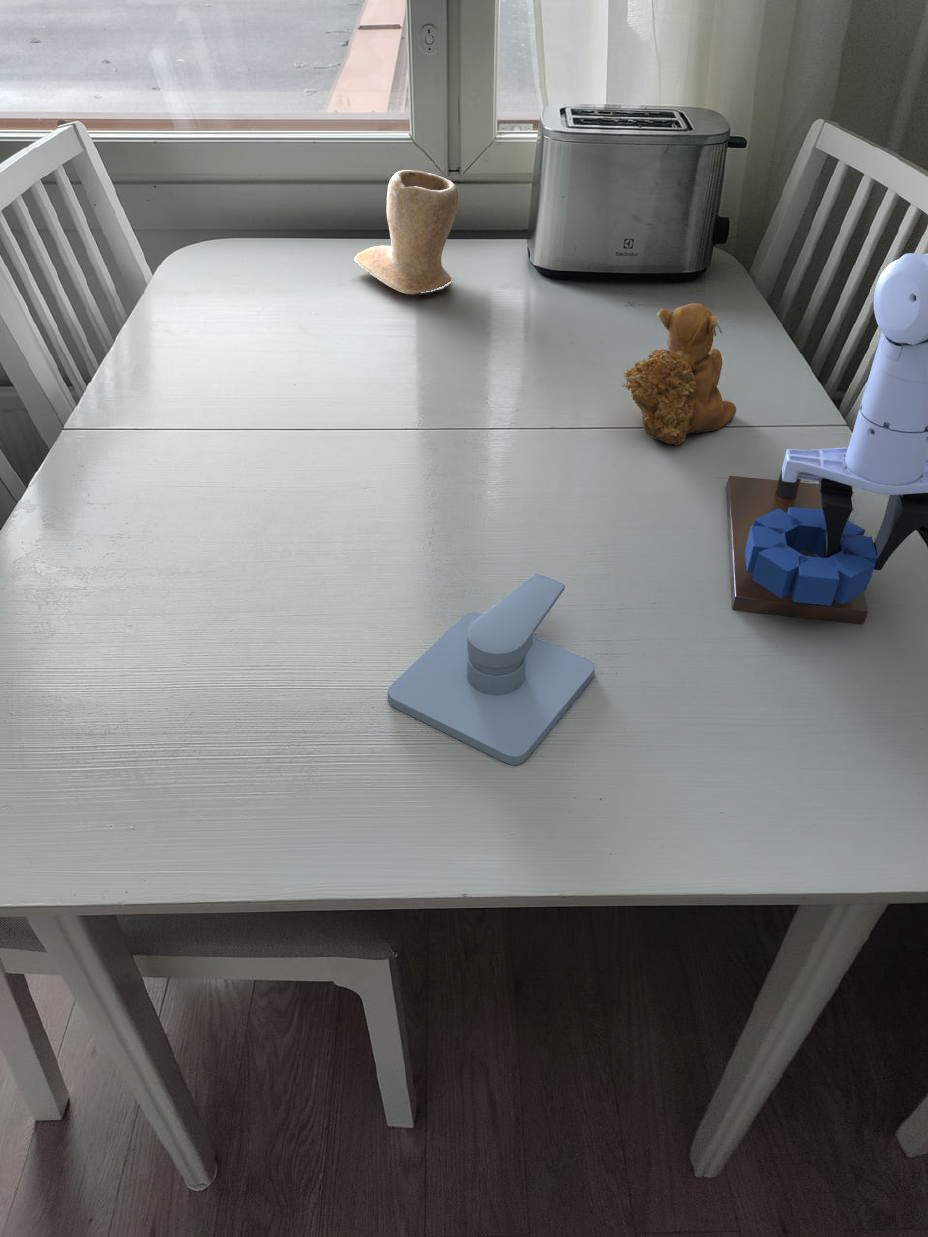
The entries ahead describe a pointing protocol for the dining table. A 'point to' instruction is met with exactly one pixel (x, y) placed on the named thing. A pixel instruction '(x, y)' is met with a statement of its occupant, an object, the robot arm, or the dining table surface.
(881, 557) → the robot arm
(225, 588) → the dining table surface
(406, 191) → the stone cup
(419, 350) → the dining table surface
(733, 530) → the peg rack
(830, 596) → the ring
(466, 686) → the shower valve
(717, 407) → the stuffed squirrel
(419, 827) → the dining table surface
